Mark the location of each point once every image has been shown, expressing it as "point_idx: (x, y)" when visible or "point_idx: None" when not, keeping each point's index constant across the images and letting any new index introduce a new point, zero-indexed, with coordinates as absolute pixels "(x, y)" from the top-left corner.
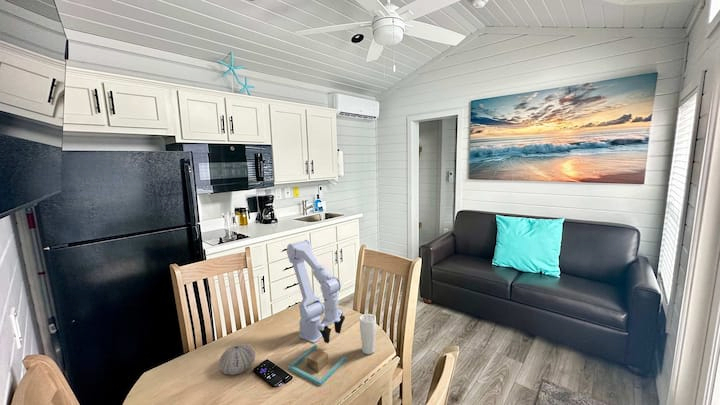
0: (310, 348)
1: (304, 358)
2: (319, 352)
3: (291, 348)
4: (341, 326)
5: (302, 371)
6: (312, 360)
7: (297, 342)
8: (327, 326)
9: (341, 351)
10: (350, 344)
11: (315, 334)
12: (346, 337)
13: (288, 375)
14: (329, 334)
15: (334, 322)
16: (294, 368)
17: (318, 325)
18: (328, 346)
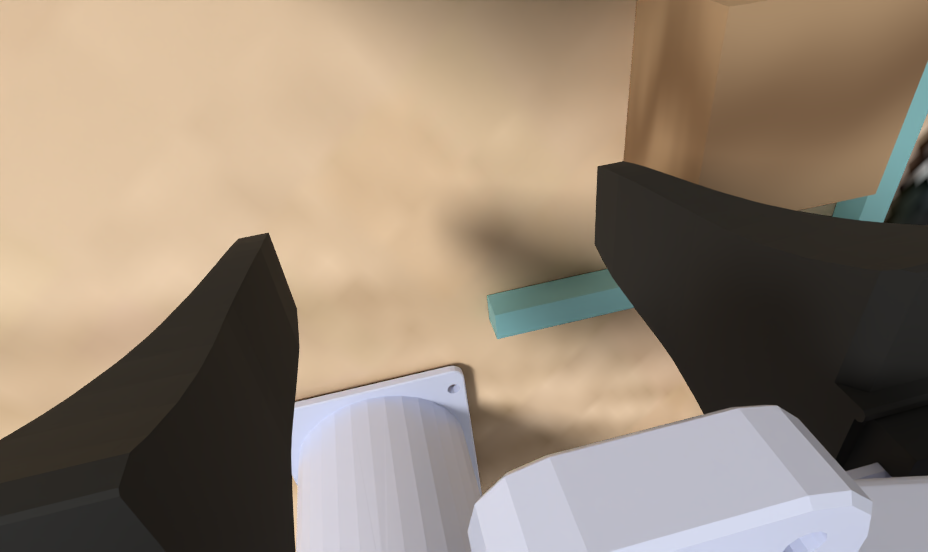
0: (577, 316)
1: None
2: (747, 137)
3: (621, 413)
4: (178, 313)
5: (916, 92)
6: (914, 80)
7: (537, 444)
8: (895, 434)
9: (335, 18)
10: (95, 28)
11: (424, 441)
12: (55, 207)
13: (917, 173)
14: (741, 225)
15: (288, 492)
16: (886, 190)
17: (389, 536)
18: (390, 232)
